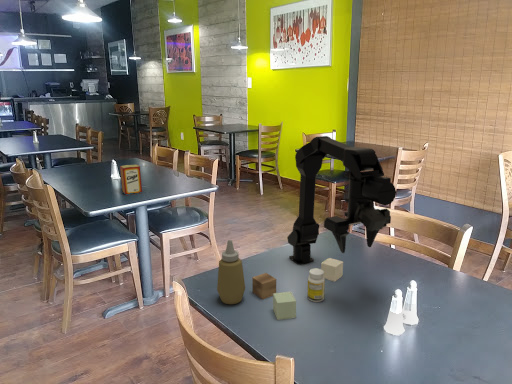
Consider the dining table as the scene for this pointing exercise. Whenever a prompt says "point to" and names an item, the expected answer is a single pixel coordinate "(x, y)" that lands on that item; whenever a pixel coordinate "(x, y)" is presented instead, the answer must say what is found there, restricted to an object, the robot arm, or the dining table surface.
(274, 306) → the sage block
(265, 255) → the dining table surface
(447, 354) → the dining table surface
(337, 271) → the cream block
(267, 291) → the walnut block
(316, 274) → the supplement bottle
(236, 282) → the squeeze bottle
